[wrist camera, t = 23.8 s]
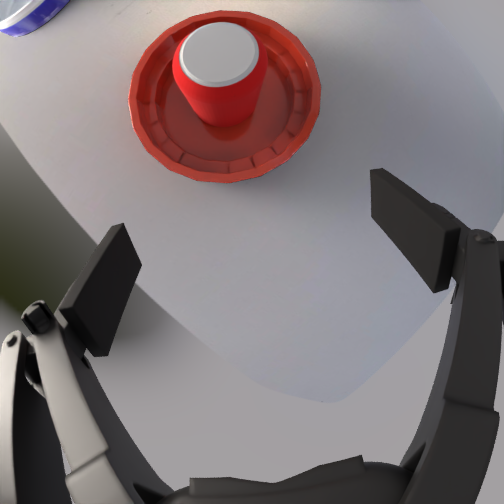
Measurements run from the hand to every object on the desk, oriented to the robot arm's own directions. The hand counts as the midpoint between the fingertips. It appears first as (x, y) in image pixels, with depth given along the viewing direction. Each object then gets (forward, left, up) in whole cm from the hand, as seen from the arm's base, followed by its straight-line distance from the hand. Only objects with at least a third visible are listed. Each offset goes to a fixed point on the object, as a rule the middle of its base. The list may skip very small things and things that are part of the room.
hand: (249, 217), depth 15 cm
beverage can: (+5, -8, -14) cm, 17 cm away
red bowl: (+5, -8, -15) cm, 18 cm away
